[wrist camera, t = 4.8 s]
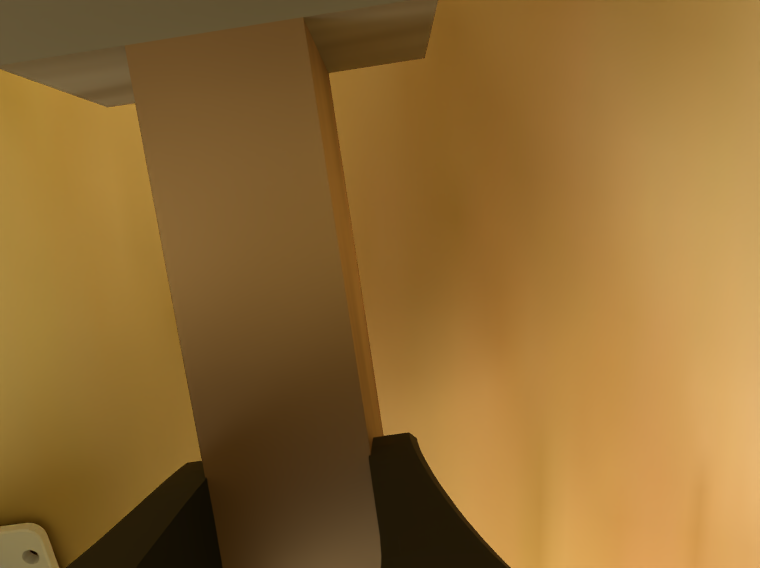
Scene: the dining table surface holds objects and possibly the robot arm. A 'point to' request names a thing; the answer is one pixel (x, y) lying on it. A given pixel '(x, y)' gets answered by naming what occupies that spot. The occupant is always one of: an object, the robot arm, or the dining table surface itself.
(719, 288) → the dining table surface
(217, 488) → the hammer
